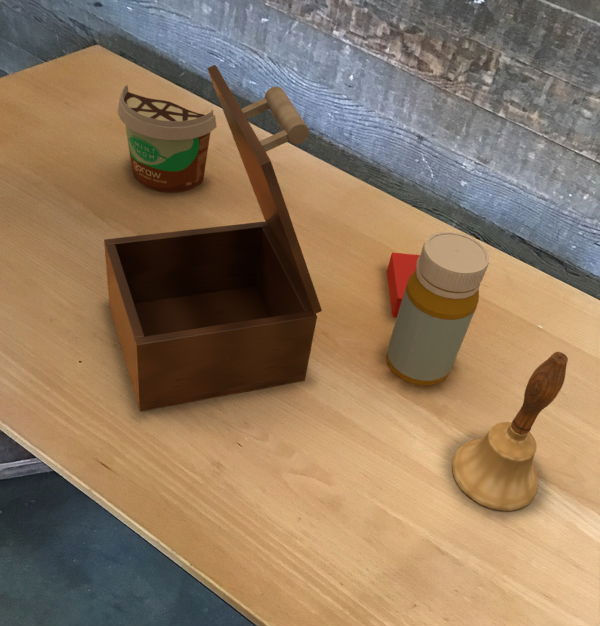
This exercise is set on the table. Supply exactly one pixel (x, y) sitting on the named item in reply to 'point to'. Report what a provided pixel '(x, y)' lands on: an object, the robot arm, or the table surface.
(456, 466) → the hand bell
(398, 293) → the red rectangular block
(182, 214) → the table surface
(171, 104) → the food container
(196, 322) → the chest
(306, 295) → the lid
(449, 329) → the bottle
